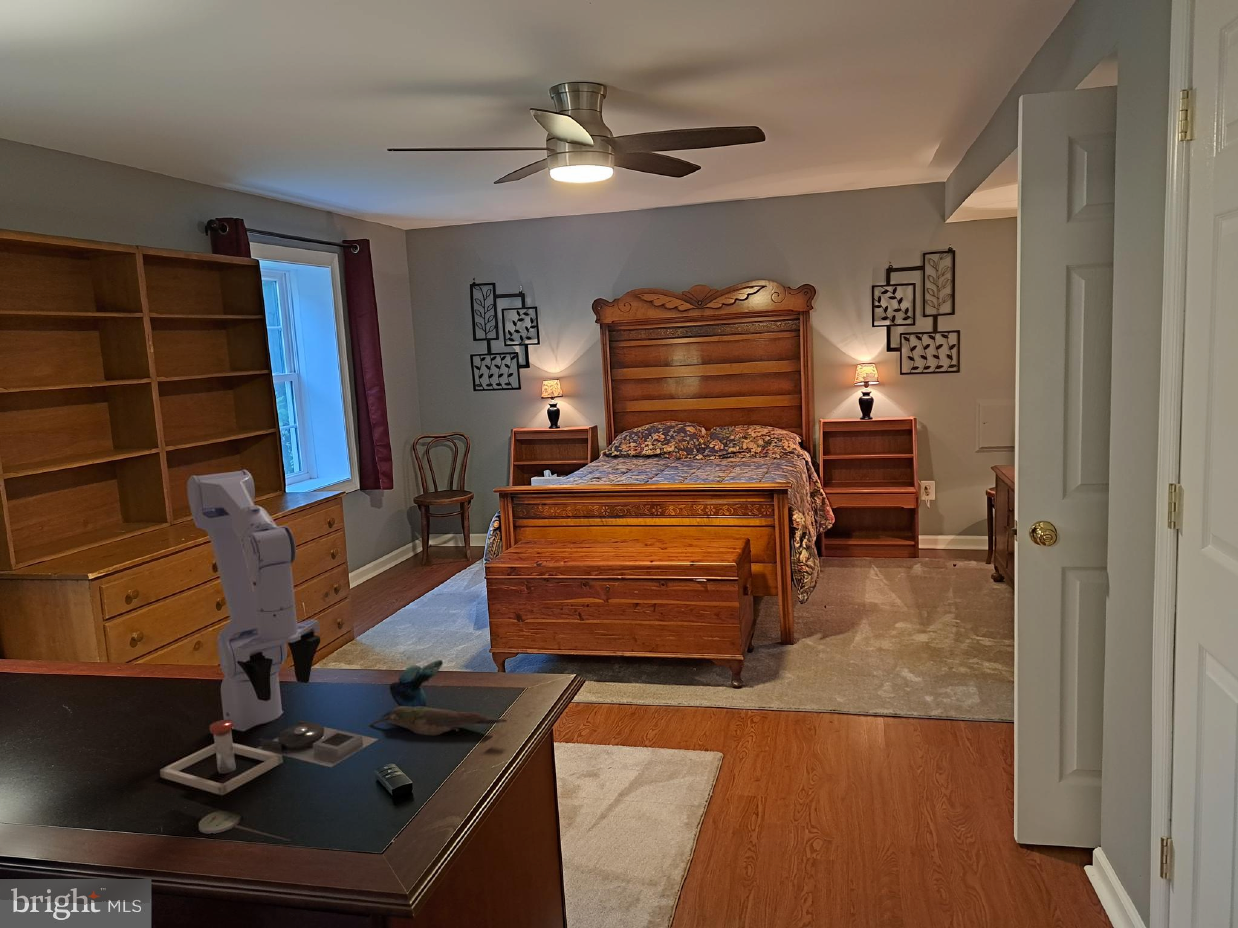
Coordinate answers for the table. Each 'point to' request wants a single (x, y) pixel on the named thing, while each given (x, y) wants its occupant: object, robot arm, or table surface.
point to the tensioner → (316, 743)
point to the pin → (224, 745)
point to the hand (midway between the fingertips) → (284, 690)
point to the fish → (413, 684)
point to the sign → (225, 823)
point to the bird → (434, 719)
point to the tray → (221, 789)
